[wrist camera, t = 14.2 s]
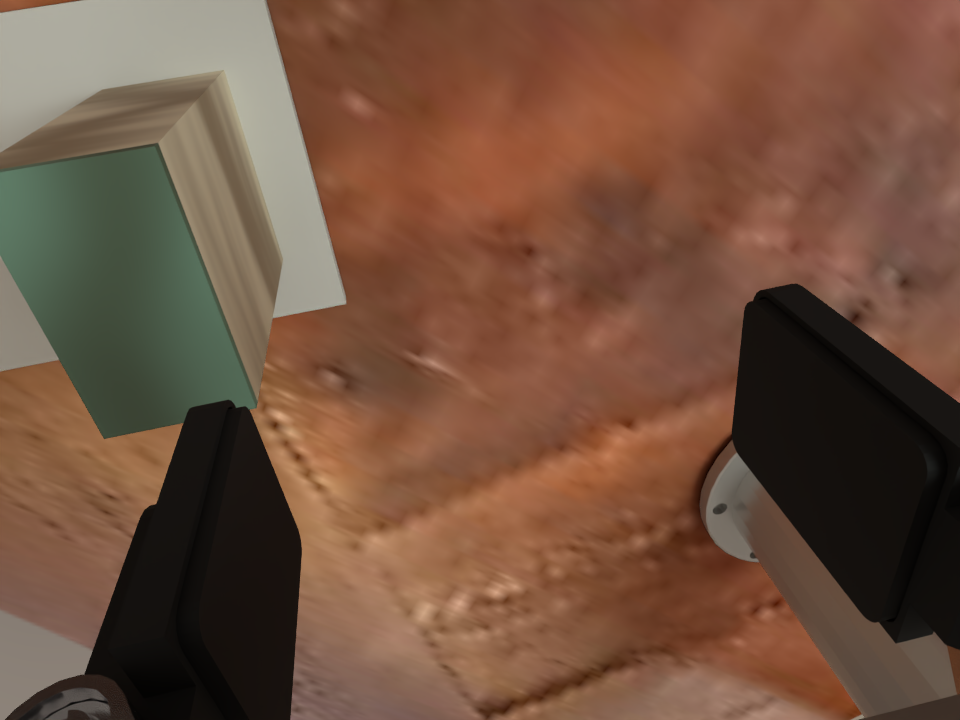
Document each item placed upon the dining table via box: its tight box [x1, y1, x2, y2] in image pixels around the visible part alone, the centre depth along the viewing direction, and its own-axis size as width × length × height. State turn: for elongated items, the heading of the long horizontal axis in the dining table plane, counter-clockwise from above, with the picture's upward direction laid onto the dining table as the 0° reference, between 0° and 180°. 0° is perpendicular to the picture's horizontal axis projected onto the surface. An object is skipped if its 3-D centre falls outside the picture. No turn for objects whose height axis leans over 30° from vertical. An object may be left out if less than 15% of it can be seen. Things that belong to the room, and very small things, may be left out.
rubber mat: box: [0, 0, 346, 371], centre depth 24 cm, size 16×12×1 cm
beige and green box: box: [0, 70, 283, 439], centre depth 20 cm, size 4×7×10 cm, turn 7°
